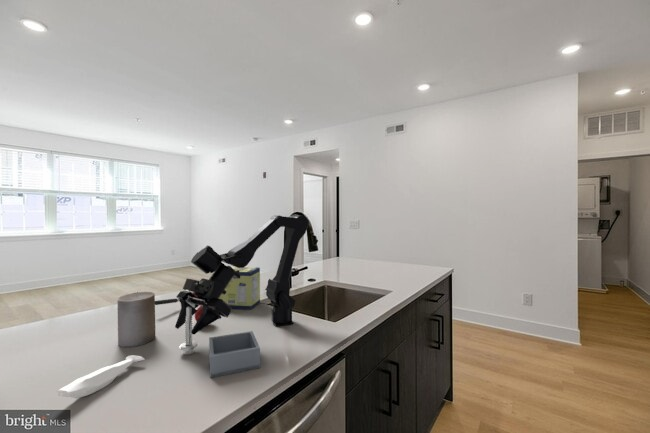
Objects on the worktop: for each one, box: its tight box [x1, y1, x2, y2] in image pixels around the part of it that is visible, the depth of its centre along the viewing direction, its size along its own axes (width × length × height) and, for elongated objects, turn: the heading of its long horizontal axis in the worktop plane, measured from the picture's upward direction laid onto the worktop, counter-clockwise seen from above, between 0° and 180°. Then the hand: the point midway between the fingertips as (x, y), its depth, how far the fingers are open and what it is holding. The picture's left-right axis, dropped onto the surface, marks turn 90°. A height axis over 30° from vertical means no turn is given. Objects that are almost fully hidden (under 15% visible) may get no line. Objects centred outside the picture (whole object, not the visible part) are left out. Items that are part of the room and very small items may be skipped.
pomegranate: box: [194, 305, 203, 323], centre depth 100 cm, size 6×6×8 cm
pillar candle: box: [116, 291, 156, 348], centre depth 88 cm, size 10×10×15 cm
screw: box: [178, 307, 199, 356], centre depth 80 cm, size 13×5×5 cm
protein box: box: [219, 266, 261, 311], centre depth 123 cm, size 10×16×16 cm
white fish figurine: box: [56, 354, 146, 399], centre depth 65 cm, size 6×18×4 cm, turn 170°
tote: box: [208, 330, 261, 379], centre depth 76 cm, size 12×12×5 cm
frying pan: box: [155, 290, 197, 306], centre depth 123 cm, size 32×13×6 cm, turn 167°
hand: (184, 330), depth 79 cm, fingers open, 7 cm apart
